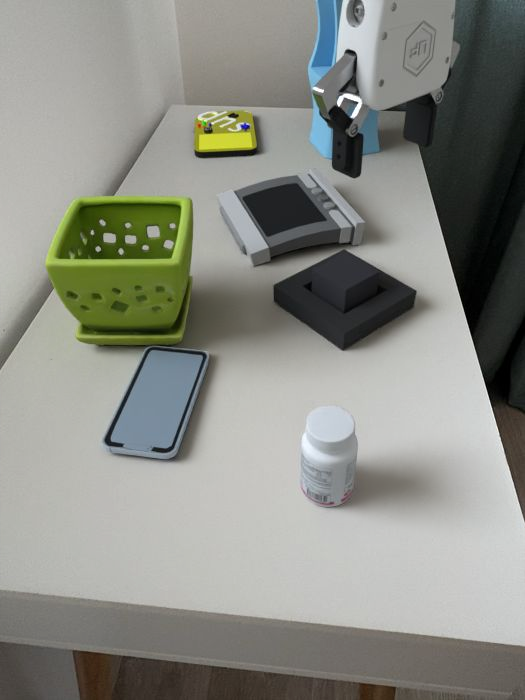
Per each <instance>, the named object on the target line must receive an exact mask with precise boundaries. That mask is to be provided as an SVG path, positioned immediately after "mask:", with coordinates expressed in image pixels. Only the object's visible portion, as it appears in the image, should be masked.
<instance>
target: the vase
mask: <svg viewBox="0 0 525 700" xmlns="http://www.w3.org/2000/svg"><path fill="white" fill-rule="evenodd" d="M342 3H343V0H315V5H316V13H317V34H316V38H315V39H316V40H315V44H314V48H313V51H312V54H311V57H310V60H309V62H308V65H307V76H308V80H309V85H310V90H311V92H312V89H313V87H314V86H315V84H316V83H317V82H318V81H319V80H320V79H321V78H322V77H323V76H324V75H325V74H326V73H327V72H328V71H329V70H330V69H331V68H332V67H333V66H334V65H335V64H336V56H337V43H338V32H339V24H340V16H341V9H342ZM311 98H312V107H313V108H312V110H313V112H312V124H311V130H310V135H309V139H308V141H309V143H310V144H311V145H312V146H313V147H314V148H315V149H316V150H317V151H318V152H319V153H320V155H321V156H322V157H323V158H325V159H330V160H332V142H333V129H331V128H329V127H328V126H327V122H326V121H325V120H324V119H323V118H322V117H321V116H320V115H319V108H318V106H317V104H316V101H315V99H314V96H313V94H312V93H311ZM338 99H339V96H338V94H337V101H338ZM355 108H356V105H353V104H351V105H350V107H349V109H348V111H347V113H346V114H347V115H348V116H349V117H351V115H352V114H353V112H354V110H355ZM379 115H380V111H377V110H373V109H370V111H369V113H368V115H367V117H366V118H365V120H364V122H363V124H362V126H361V128H360V130H359V131H358V132H359V133H361V134H363V137H364V141H363V155H368V154H375V153H380V152H381V149H380V143H379V134H378V133H379V131H378V122H379Z"/></svg>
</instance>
